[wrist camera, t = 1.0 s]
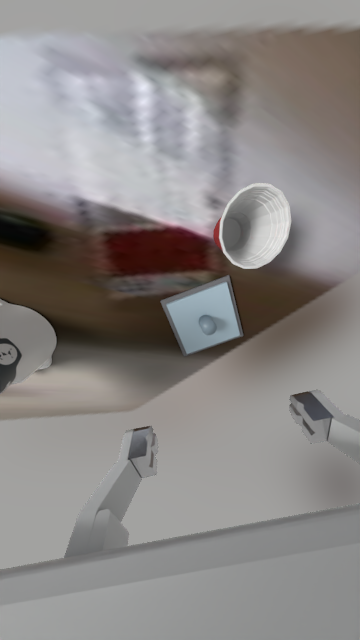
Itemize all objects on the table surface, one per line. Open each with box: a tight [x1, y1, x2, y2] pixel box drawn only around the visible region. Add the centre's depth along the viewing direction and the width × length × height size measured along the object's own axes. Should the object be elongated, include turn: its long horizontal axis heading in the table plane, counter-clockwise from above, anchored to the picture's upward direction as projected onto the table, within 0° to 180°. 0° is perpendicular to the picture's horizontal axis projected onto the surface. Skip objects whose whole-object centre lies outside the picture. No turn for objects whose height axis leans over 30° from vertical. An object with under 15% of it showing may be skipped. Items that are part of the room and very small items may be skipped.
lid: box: [166, 282, 240, 354], centre depth 40 cm, size 14×14×5 cm
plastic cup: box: [214, 183, 291, 269], centre depth 30 cm, size 11×11×12 cm
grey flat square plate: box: [160, 275, 243, 357], centre depth 42 cm, size 16×16×1 cm
